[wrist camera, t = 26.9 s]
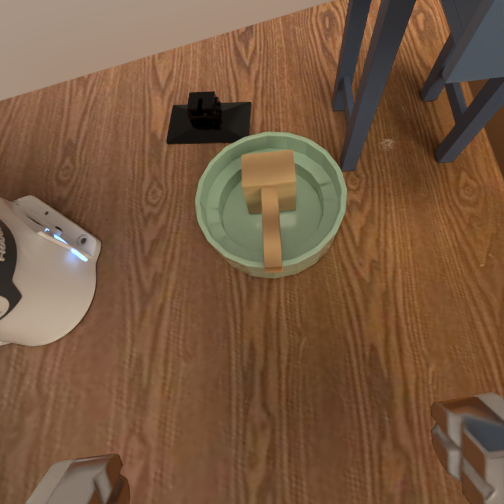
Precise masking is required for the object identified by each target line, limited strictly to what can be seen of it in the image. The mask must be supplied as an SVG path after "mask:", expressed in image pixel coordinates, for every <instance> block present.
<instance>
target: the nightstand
mask: <svg viewBox="0 0 504 504" xmlns="http://www.w3.org/2000/svg"><path fill="white" fill-rule="evenodd" d="M415 2H416V0H381V4H380V7H379V11H378V15H377V19H376V23H375V27H374V30H373V34H372V38H371V42H370V46H369V50H368V53H367V57H366V61H365V65H364V69H363V73H362V76H361V80H360V84H359V88H358V92H357V95H356V99H355V103H354V100H353V94H352V87H351V86H352V82H353V77H354V73H355V69H356V64H357V60H358V56H359V52H360V47H361V43H362V39H363V34H364V30H365V26H366V21H367V17H368V13H369V8H370V4H371V0H349V3H348V9H347V15H346V21H345V27H344V33H343V39H342V45H341V51H340V57H339V63H338V69H337V75H336V81H335V87H334V93H333V99H332V105H333V111H339V110H345V112H346V119H347V126H348V130H347V134H346V138H345V141H344V145H343V149H342V153H341V157H340V168H341V171H351V170H355V168H356V165H357V162H358V159H359V157H360V154H361V151H362V148H363V146H364V143H365V140H366V137H367V135H368V132H369V129H370V126H371V123H372V121H373V118H374V115H375V112H376V110H377V107H378V104H379V101H380V99H381V96H382V93H383V90H384V88H385V85H386V82H387V79H388V76H389V74H390V71H391V68H392V65H393V63H394V60H395V57H396V54H397V52H398V49H399V46H400V43H401V41H402V38H403V35H404V32H405V30H406V27H407V24H408V21H409V18H410V16H411V13H412V10H413V7H414V5H415ZM442 3H443V7H444V10H445V13H446V17H447V20H448V23H449V26H450V30H451V33H450V35H449V37H448V39H447V41H446V43H445V44H444V46H443V48H442V50H441V52H440V54H439V56H438V58H437V60H436V62H435V64H434V66H433V68H432V70H431V72H430V74H429V76H428V78H427V80H426V82H425V84H424V86H423V88H422V90H421V95H422V99H423V101H430V100H436V99H437V98H438V96H439V94H440V93H441V91H442V89H443V88H444V86H445V88H446V91H447V95H448V99H449V102H450V106H451V109H452V113H453V116H454V120H455V126H454V127H453V128H452V130H451V131H450V132H449V134H448V135H447V136H446V138H445V139H444V140H443V142H442V143H441V144H440V146H439V147H438V148H437V150H436V151H435V153H436V157H437V161H438V163H445V162H453V161H454V160H455V159H456V157H457V156H458V155H459V154H460V153H461V152H462V151H463V150H464V148H465V147H466V146H467V145H468V144H469V143H470V142H471V140H472V139H473V138H474V137H475V136H476V135H477V134H478V132H479V131H480V130H481V129H482V128H483V127H484V126H485V124H486V123H487V122H488V121H489V120H490V119H491V118H492V116H493V115H494V114H495V113H496V112H497V111H498V110H499V109H500V107H501V106H502V105H503V104H504V0H442ZM482 79H489V80H488V81H487V83H486V84H485V86H484V87H483V88H482V89H481V91H480V92H479V93H478V95H477V96H476V97H475V99H474V100H473V101H472V103H471V104H470V105H469V107H468V108H467V106H466V103H465V100H464V96H463V93H462V90H461V86H460V83H459V82H464V81H473V80H482Z"/></svg>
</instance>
